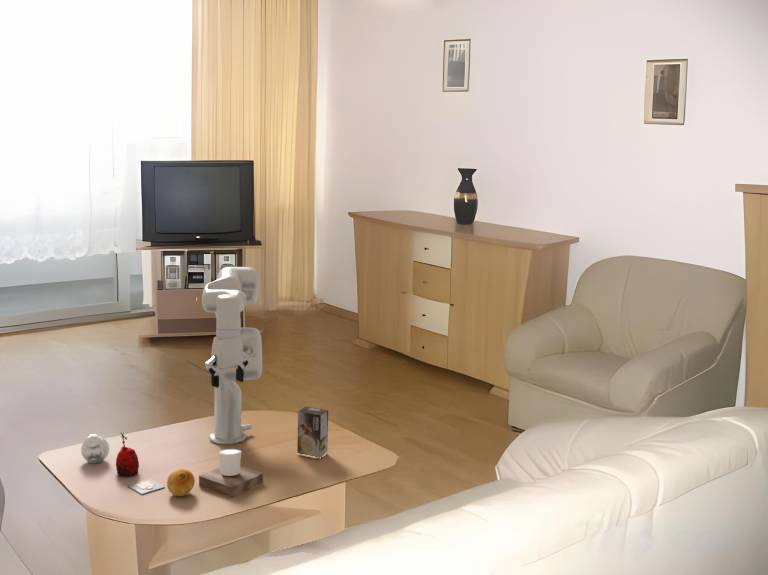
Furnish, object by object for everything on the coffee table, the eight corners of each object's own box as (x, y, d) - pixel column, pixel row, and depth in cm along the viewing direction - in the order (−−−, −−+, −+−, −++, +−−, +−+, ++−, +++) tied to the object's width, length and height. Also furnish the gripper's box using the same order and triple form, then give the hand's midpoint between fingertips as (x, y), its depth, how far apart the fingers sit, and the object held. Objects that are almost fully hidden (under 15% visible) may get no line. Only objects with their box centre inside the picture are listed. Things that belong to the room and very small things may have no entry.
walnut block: (230, 474, 288) (230, 462, 287) (262, 485, 280) (262, 473, 279) (199, 487, 276) (198, 475, 276) (231, 499, 269) (231, 487, 268)
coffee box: (328, 454, 306) (329, 410, 303) (320, 460, 301) (321, 415, 298) (304, 449, 310) (305, 405, 307) (296, 455, 304) (297, 411, 301)
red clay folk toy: (143, 473, 284) (143, 428, 281) (127, 480, 278) (126, 435, 275) (127, 467, 288) (126, 423, 285) (110, 474, 282) (109, 429, 279)
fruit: (192, 500, 266) (192, 475, 264) (165, 500, 265) (164, 475, 263) (196, 489, 274) (196, 464, 272) (169, 488, 273) (169, 464, 271)
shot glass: (214, 473, 277) (214, 451, 277) (232, 468, 282) (232, 447, 282) (228, 477, 273) (228, 455, 272) (245, 473, 278) (245, 451, 277)
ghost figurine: (74, 464, 288) (73, 435, 287) (95, 455, 297) (94, 426, 295) (95, 470, 285) (94, 440, 283) (115, 460, 293) (115, 431, 291)
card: (150, 480, 279) (150, 478, 279) (164, 487, 273) (164, 486, 273) (127, 486, 273) (127, 485, 273) (141, 495, 268) (141, 493, 268)
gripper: (242, 326, 293) (242, 376, 296) (198, 334, 280) (198, 386, 284) (256, 331, 288) (256, 381, 291) (212, 339, 275) (212, 391, 279)
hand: (227, 383), depth 287 cm, fingers open, 9 cm apart
